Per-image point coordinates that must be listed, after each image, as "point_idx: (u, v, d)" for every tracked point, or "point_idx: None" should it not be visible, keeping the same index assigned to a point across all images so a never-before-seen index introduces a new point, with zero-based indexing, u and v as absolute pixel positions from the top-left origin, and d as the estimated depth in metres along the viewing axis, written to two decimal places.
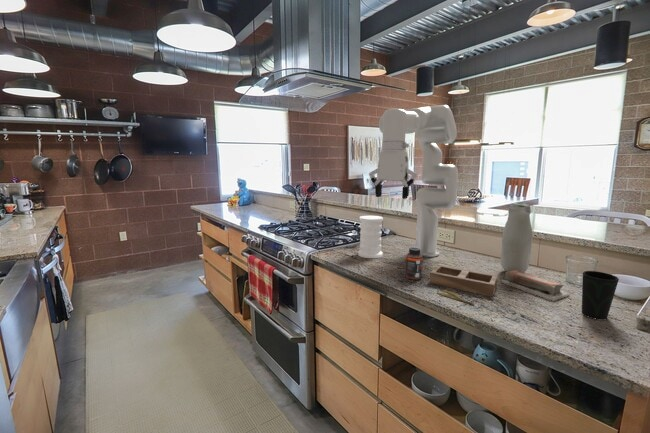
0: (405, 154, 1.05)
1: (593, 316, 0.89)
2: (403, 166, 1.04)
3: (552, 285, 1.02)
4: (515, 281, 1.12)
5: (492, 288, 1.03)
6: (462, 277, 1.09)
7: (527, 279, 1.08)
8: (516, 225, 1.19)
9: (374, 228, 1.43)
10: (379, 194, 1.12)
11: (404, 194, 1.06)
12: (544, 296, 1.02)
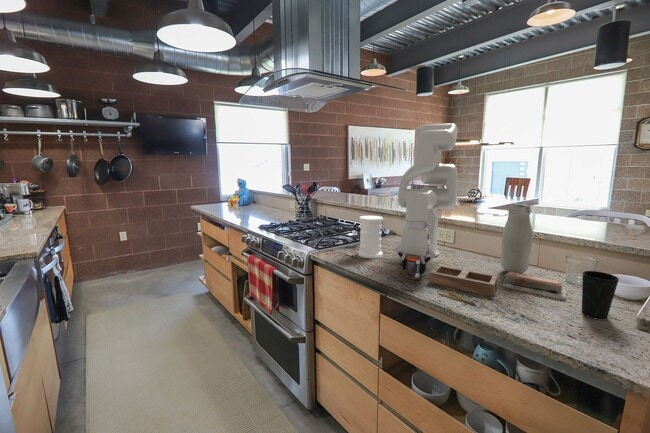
0: (427, 232, 1.14)
1: (593, 316, 0.89)
2: (425, 244, 1.14)
3: (558, 284, 1.03)
4: (517, 283, 1.10)
5: (492, 288, 1.03)
6: (462, 277, 1.09)
7: (531, 280, 1.07)
8: (516, 225, 1.19)
9: (374, 228, 1.43)
10: (405, 267, 1.21)
11: (422, 270, 1.16)
12: (554, 296, 1.02)
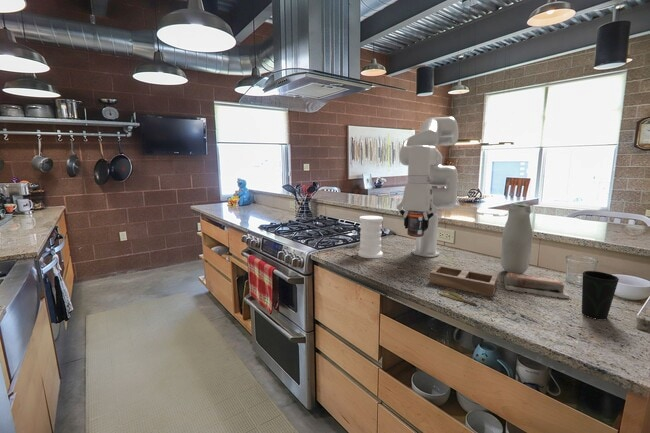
0: (430, 187, 1.12)
1: (593, 316, 0.89)
2: (428, 199, 1.11)
3: (560, 283, 1.04)
4: (520, 285, 1.08)
5: (492, 288, 1.03)
6: (462, 277, 1.09)
7: (533, 281, 1.07)
8: (516, 225, 1.19)
9: (374, 228, 1.43)
10: None
11: (424, 226, 1.14)
12: (558, 295, 1.02)
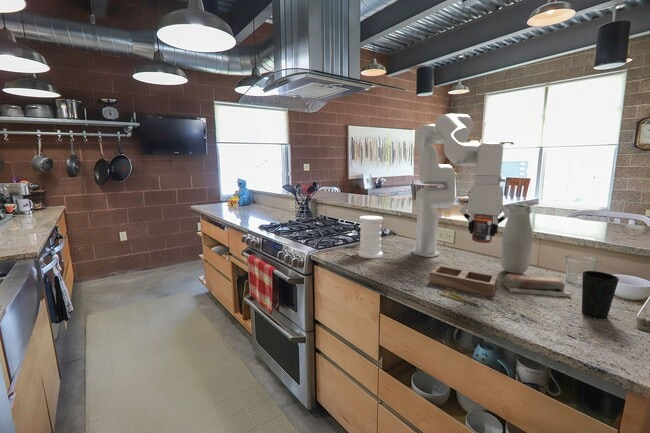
0: (501, 189, 1.02)
1: (593, 316, 0.89)
2: (500, 201, 1.01)
3: (561, 282, 1.05)
4: (523, 286, 1.07)
5: (492, 288, 1.03)
6: (462, 277, 1.09)
7: (536, 281, 1.06)
8: (516, 225, 1.19)
9: (374, 228, 1.43)
10: (472, 231, 1.09)
11: (494, 232, 1.04)
12: (561, 294, 1.03)
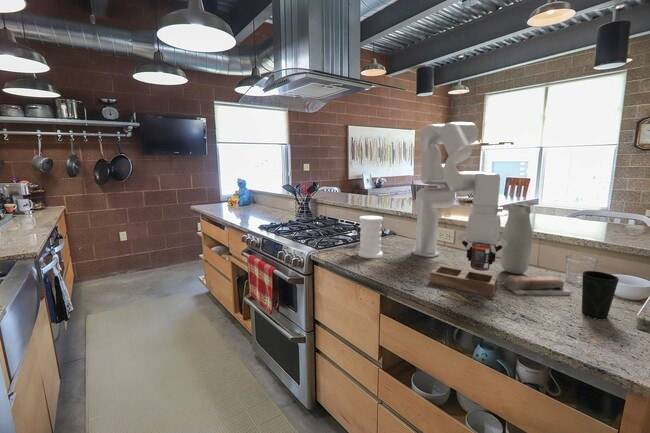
0: (499, 218, 1.03)
1: (593, 316, 0.89)
2: (497, 231, 1.03)
3: (560, 280, 1.06)
4: (527, 288, 1.06)
5: (492, 288, 1.03)
6: (462, 277, 1.09)
7: (539, 282, 1.06)
8: (516, 225, 1.19)
9: (374, 228, 1.43)
10: None
11: (491, 260, 1.05)
12: (562, 293, 1.04)
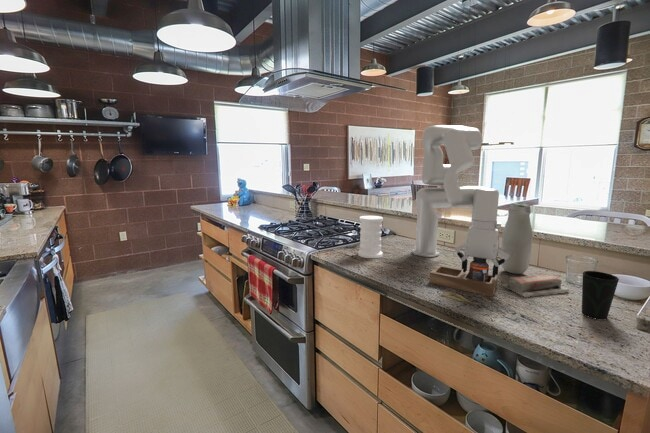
0: (497, 233, 1.04)
1: (593, 316, 0.89)
2: (496, 246, 1.04)
3: (558, 278, 1.08)
4: (531, 289, 1.05)
5: (492, 288, 1.03)
6: (462, 277, 1.09)
7: (541, 282, 1.06)
8: (516, 225, 1.19)
9: (374, 228, 1.43)
10: (466, 269, 1.12)
11: (494, 273, 1.06)
12: (562, 291, 1.06)
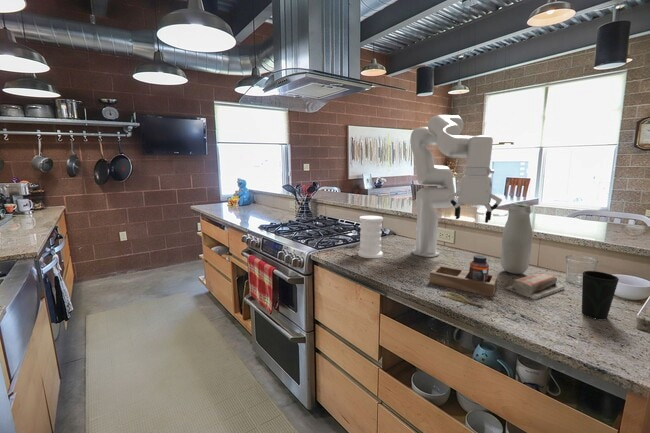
0: (490, 180, 1.08)
1: (593, 316, 0.89)
2: (488, 192, 1.07)
3: None
4: (537, 290, 1.04)
5: (492, 288, 1.03)
6: (462, 277, 1.09)
7: (544, 282, 1.06)
8: (516, 225, 1.19)
9: (374, 228, 1.43)
10: (458, 216, 1.16)
11: (487, 218, 1.09)
12: (560, 289, 1.08)
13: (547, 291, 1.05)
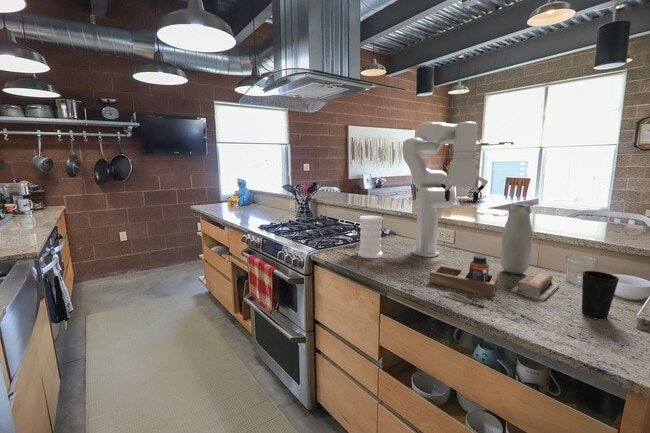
0: (476, 163, 1.16)
1: (593, 316, 0.89)
2: (475, 174, 1.15)
3: (549, 275, 1.11)
4: (542, 290, 1.04)
5: (492, 288, 1.03)
6: (462, 277, 1.09)
7: (545, 281, 1.06)
8: (516, 225, 1.19)
9: (374, 228, 1.43)
10: (448, 199, 1.23)
11: (475, 199, 1.17)
12: (557, 287, 1.09)
13: (549, 291, 1.05)
